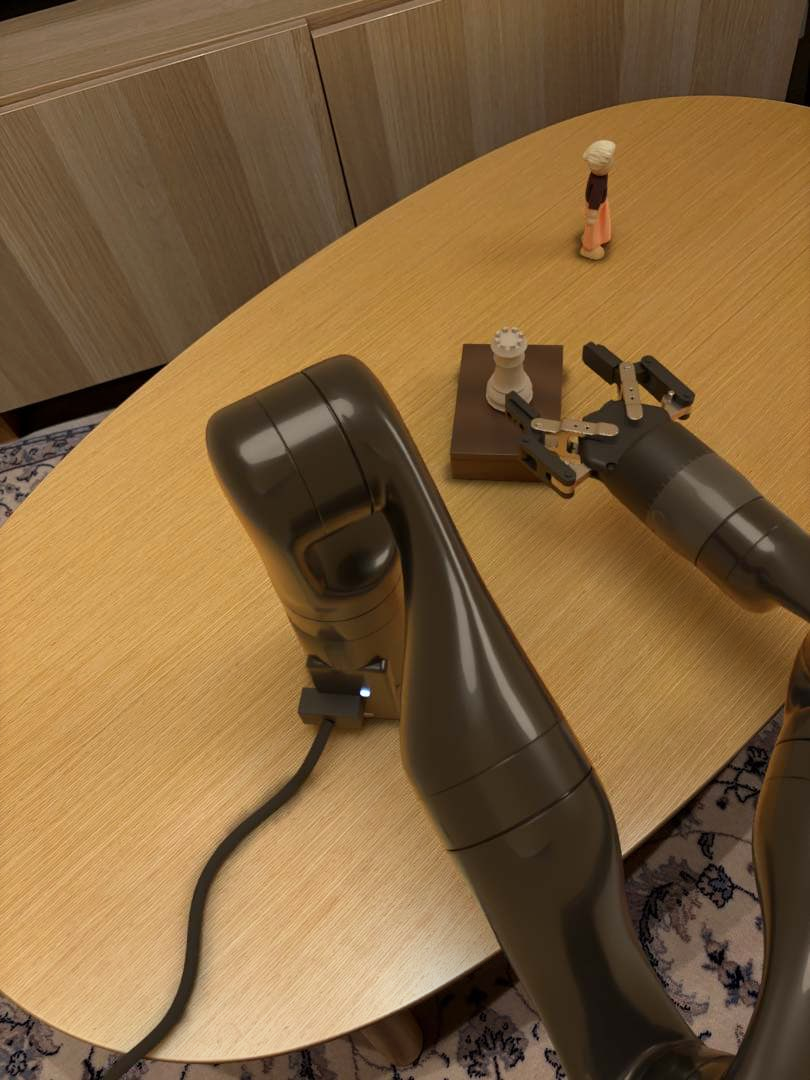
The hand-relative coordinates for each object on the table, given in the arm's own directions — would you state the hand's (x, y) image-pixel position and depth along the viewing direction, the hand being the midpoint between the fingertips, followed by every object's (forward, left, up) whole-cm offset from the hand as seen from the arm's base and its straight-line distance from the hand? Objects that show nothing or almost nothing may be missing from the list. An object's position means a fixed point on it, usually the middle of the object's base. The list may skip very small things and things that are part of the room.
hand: (547, 374), depth 74 cm
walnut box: (+4, +4, -12) cm, 13 cm away
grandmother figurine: (+31, -4, -12) cm, 33 cm away
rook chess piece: (+4, +4, -8) cm, 9 cm away
